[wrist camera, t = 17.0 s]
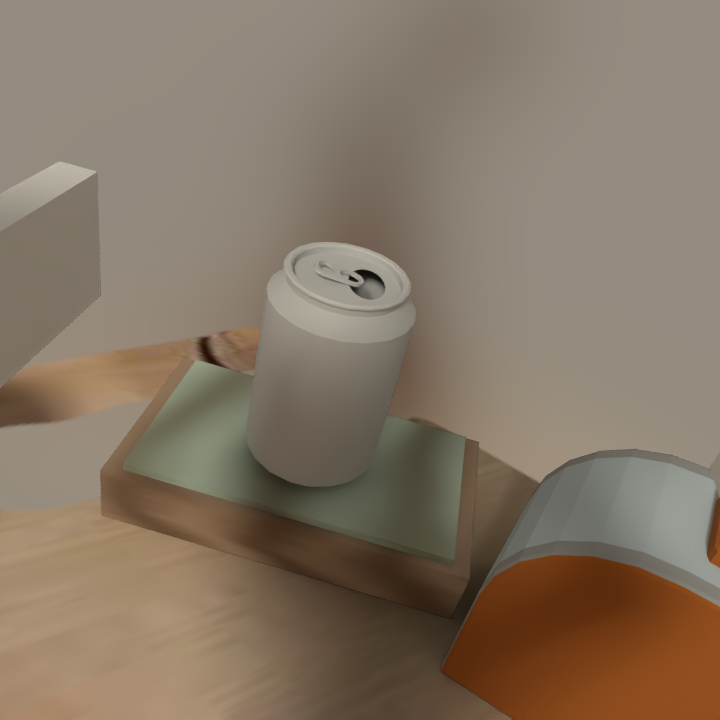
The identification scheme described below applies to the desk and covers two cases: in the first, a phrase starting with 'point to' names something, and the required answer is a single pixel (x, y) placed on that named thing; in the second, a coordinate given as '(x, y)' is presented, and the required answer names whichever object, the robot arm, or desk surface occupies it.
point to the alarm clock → (603, 597)
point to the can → (327, 362)
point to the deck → (299, 496)
